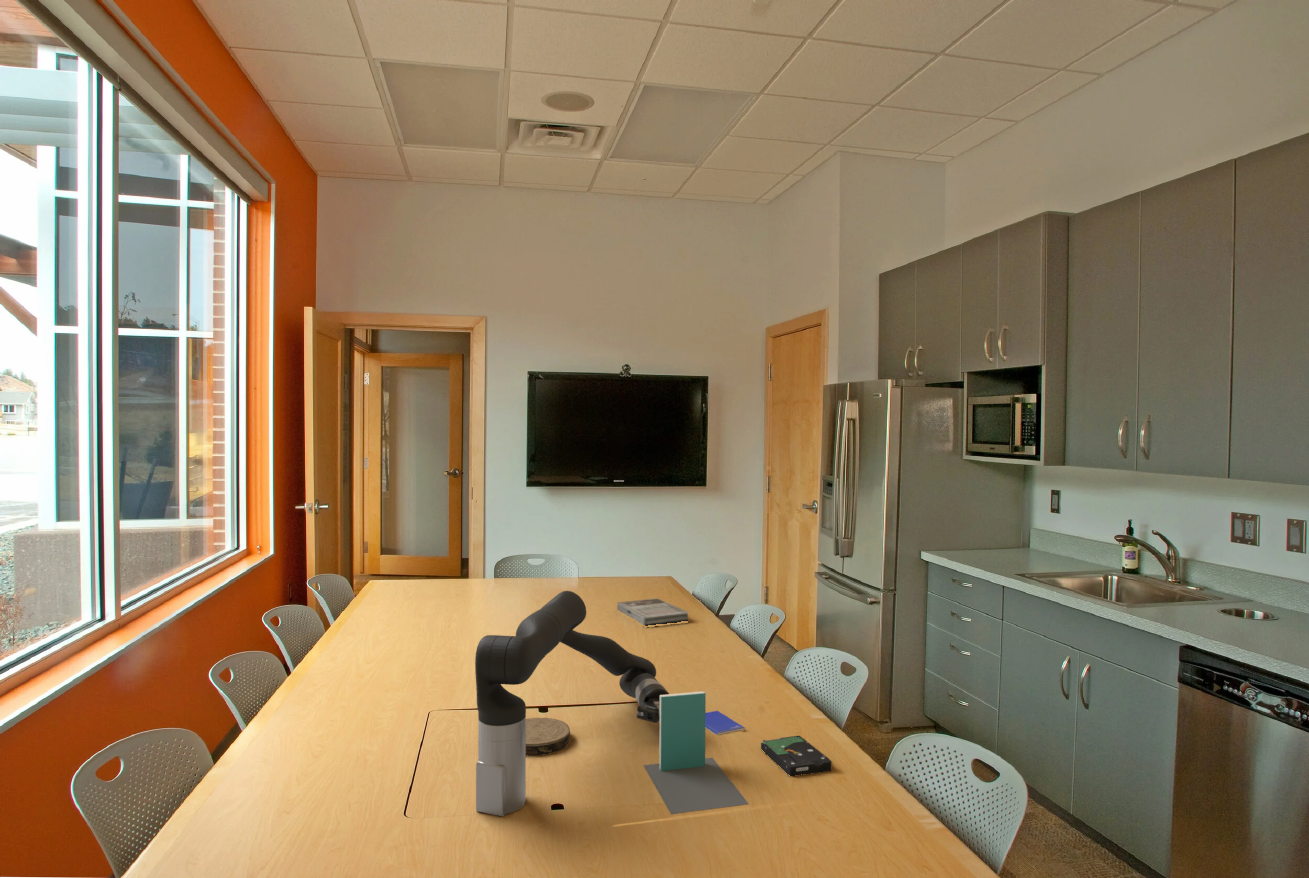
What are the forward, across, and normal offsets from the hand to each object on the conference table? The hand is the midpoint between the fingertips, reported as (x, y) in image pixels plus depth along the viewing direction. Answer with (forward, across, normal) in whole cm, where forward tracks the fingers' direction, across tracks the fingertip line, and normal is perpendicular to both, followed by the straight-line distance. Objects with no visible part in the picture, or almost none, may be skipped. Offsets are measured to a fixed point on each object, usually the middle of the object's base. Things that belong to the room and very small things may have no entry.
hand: (672, 724), depth 176 cm
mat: (+16, 0, +7) cm, 17 cm away
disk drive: (+9, +26, +8) cm, 29 cm away
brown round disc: (-15, -29, +8) cm, 34 cm away
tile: (+8, 0, +7) cm, 10 cm away
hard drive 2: (-14, +16, +8) cm, 23 cm away
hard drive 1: (-123, +27, +7) cm, 126 cm away
